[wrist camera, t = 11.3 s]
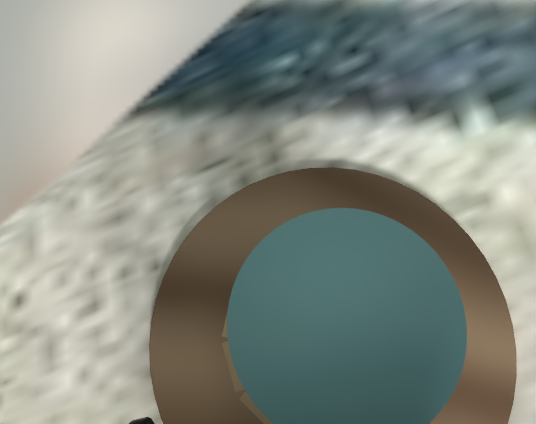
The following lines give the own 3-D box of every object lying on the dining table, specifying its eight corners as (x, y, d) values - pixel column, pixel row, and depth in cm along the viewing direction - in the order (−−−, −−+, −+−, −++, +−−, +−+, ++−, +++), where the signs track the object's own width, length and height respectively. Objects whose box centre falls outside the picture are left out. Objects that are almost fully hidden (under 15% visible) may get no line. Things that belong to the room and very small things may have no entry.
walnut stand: (497, 594, 18) (540, 651, 15) (110, 483, 20) (70, 510, 17) (520, 200, 22) (557, 175, 19) (201, 150, 25) (183, 119, 22)
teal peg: (386, 374, 20) (505, 419, 8) (290, 397, 20) (254, 478, 8) (357, 278, 21) (420, 184, 9) (268, 300, 22) (207, 237, 9)
